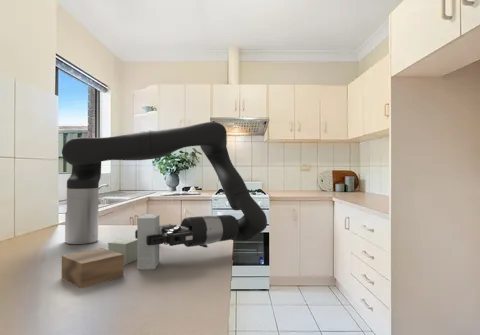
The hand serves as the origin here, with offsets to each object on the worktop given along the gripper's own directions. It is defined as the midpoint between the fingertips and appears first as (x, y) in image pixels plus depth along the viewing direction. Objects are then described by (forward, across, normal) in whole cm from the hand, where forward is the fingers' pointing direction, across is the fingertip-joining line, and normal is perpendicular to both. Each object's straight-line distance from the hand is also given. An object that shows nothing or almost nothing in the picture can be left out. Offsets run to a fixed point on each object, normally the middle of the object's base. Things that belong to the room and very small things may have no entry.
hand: (140, 237), depth 75 cm
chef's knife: (-22, -18, +8) cm, 30 cm away
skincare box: (-2, 0, +7) cm, 7 cm away
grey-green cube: (+2, -8, +7) cm, 11 cm away
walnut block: (+11, +2, +7) cm, 13 cm away
